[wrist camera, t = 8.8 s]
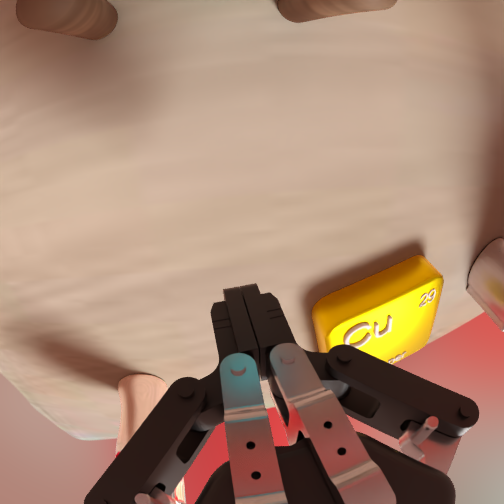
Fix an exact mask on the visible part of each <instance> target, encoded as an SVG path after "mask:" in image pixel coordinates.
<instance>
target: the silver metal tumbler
mask: <svg viewBox="0 0 504 504" xmlns="http://www.w3.org/2000/svg"><path fill="white" fill-rule="evenodd" d="M167 390H168V387H167V384H166V383H165V382H164V381H163V380H162V379H160V378H158V377H156V376H153V375H148V374H133V375H129V376H126V377H124V378H122V379H121V380H120V381H119V383H118V392H119V397H120V402H121V420H120V427H119V432H118V438H117V445H116V455H115V458H116V457H117V456H118V454H119V453H120V452H121V450H122V449H123V448H124V447H125V445H126V444H127V443H128V441H129V440H130V439H131V437H132V436H133V435H134V434H135V432H136V431H137V430H138V428H139V427H140V426H141V424H142V423H143V422H144V420H145V419H146V418H147V416H148V415H149V414H150V413H151V411H152V410H153V409H154V407H155V406H156V405H157V403H158V402H159V401H160V399H161V398H162V397H163V395H164V394H165V393H166V391H167ZM171 497H172V498H173V499H174V500H175V501H176V503H177V504H186V500H185V488H184V478H182V480H181V481H180V483H179V484H178V486H177V487H176V488H175V490H174V491H173V493H172V494H171Z"/></svg>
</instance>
